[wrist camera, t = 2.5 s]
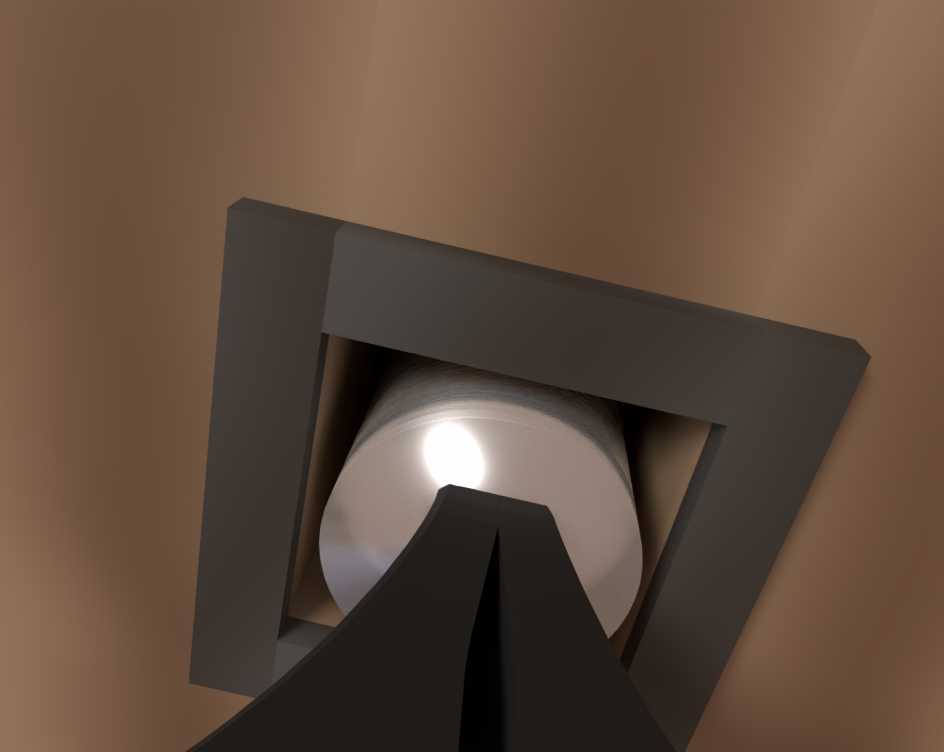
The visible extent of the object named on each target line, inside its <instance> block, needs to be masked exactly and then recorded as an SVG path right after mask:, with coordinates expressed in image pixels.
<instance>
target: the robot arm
mask: <svg viewBox="0 0 944 752" xmlns="http://www.w3.org/2000/svg"><path fill="white" fill-rule="evenodd" d="M185 752H677V751H676V750H675V749H674V747H673V746H672V744H671V743H670V741H669V740H668V738H667V737H666V735H665V734H664V732H663V731H662V729H661V728H660V726H659V725H658V723H657V721H656V720H655V718H654V717H653V715H652V713H651V712H650V710H649V709H648V707H647V705H646V704H645V702H644V701H643V699H642V697H641V695H640V694H639V692H638V690H637V689H636V687H635V685H634V683H633V682H632V680H631V678H630V677H629V675H628V673H627V671H626V670H625V668H624V666H623V665H622V663H621V661H620V659H619V657H618V655H617V654H616V652H615V650H614V648H613V646H612V644H611V643H610V641H609V639H608V637H607V635H606V633H605V631H604V629H603V627H602V625H601V623H600V621H599V619H598V617H597V615H596V613H595V611H594V609H593V607H592V605H591V603H590V601H589V599H588V597H587V595H586V593H585V591H584V588H583V586H582V584H581V582H580V580H579V577H578V575H577V573H576V571H575V568H574V566H573V564H572V562H571V559H570V557H569V555H568V552H567V550H566V547H565V545H564V542H563V540H562V537H561V535H560V532H559V530H558V527H557V524H556V522H555V519H554V516H553V514H552V513H551V511H550V510H549V508H548V506H546V505H541V504H537V503H532V502H528V501H524V500H519V499H515V498H511V497H506V496H502V495H497V494H493V493H489V492H484V491H480V490H476V489H471V488H467V487H463V486H458V485H454V484H448V485H446V486H444V487H442V488H440V489H438V492H437V495H436V498H435V500H434V502H433V504H432V506H431V508H430V510H429V512H428V514H427V515H426V517H425V519H424V520H423V522H422V524H421V525H420V527H419V528H418V529H417V531H416V532H415V534H414V535H413V537H412V538H411V540H410V541H409V543H408V544H407V545H406V546H405V548H404V549H403V550H402V552H401V553H400V554H399V555H398V557H397V558H396V559H395V560H394V562H393V563H392V564H391V566H390V567H389V568H388V569H387V571H386V572H385V573H384V575H383V576H382V577H381V578H380V579H379V581H378V582H377V583H376V584H375V585H374V586H373V587H372V588H371V590H370V591H369V592H368V593H367V594H366V595H365V596H364V597H363V598H362V599H361V600H360V601H359V603H358V604H357V605H356V606H355V607H354V608H353V609H352V610H351V611H350V612H349V613H348V614H347V615H346V617H345V618H344V619H343V620H342V621H341V622H340V623H339V624H338V625H337V626H336V627H335V628H334V629H333V630H332V631H331V632H330V633H329V634H328V635H327V636H326V637H325V638H324V639H323V640H322V641H321V642H320V643H319V644H318V645H317V646H316V647H315V648H313V649H312V650H311V651H310V652H309V653H308V654H307V655H306V656H305V657H304V658H303V659H301V660H300V661H299V662H298V663H297V664H296V665H295V666H294V667H292V668H291V669H290V670H289V671H288V672H287V673H286V674H285V675H283V676H282V677H281V678H280V679H279V680H278V681H276V682H275V683H274V684H273V685H272V686H270V687H269V688H268V689H267V690H265V691H264V692H263V693H262V694H260V695H259V696H258V697H257V698H255V699H254V700H253V701H252V702H251V703H249V704H248V705H247V706H246V707H244V708H243V709H242V710H241V711H239V712H238V713H237V714H236V715H234V716H233V717H232V718H231V719H229V720H228V721H227V722H225V723H224V724H223V725H221V726H220V727H219V728H217V729H216V730H215V731H213V732H212V733H211V734H209V735H208V736H207V737H205V738H204V739H202V740H201V741H200V742H198V743H197V744H196V745H194V746H193V747H191V748H190V749H188V750H187V751H185Z"/></svg>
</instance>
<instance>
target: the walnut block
mask: <svg viewBox="0 0 944 752" xmlns="http://www.w3.org/2000/svg"><path fill="white" fill-rule="evenodd" d="M377 345H379V346H383V347H388V348H392V349H396V350H401V351H405V352H409V353H414V354H418V355H422V356H427V357H431V358H435V359H440V360H444V361H448V362H453V363H457V364H461V365H466V366H470V367H474V368H479V369H483V370H487V371H492V372H496V373H500V374H505V375H509V376H513V377H518V378H522V379H526V380H531V381H535V382H539V383H544V384H548V385H552V386H557V387H561V388H565V389H570V390H574V391H578V392H583V393H587V394H591V395H595V396H600V397H604V398H608V399H613V400H617V401H621V402H624V405H623V408H622V411H621V414H620V417H621V423H622V429H623V435H624V441H625V447H626V453H627V459H628V465H629V471H630V477H631V483H632V489H633V495H634V501H635V507H636V514H637V520H638V526H639V532H640V538H641V544H642V560H643V566H642V574H641V581H640V585H639V588H638V592H637V595H636V598H635V600H634V602H633V605H632V607H631V609H630V611H629V613H628V615H627V616H626V617H625V619H624V620H623V622H622V623H621V625H620V626H619V628H618V629H617V630H616V631H615V632H614V633H613V634H612V635H611V637H610V638H609V641H610V643H611V644H612V646H613V648H614V650H615V652H616V654H617V655H618V657H619V659H620V661H621V663H622V665H623V666H624V668H625V670H626V671H627V673H628V675H629V677H630V678H631V680H632V682H633V683H634V685H635V687H636V689H637V690H638V692H639V694H640V695H641V697H642V699H643V701H644V702H645V704H646V705H647V707H648V709H649V710H650V712H651V713H652V715H653V717H654V718H655V720H656V721H657V723H658V725H659V726H660V728H661V729H662V731H663V732H664V734H665V735H666V737H667V738H668V740H669V741H670V743H671V744H672V746H673V747H674V749H675V750H676V751H677V752H944V0H0V752H185V751H187V750H188V749H190V748H191V747H193V746H194V745H196V744H197V743H198V742H200V741H201V740H202V739H204V738H205V737H207V736H208V735H209V734H211V733H212V732H213V731H215V730H216V729H217V728H219V727H220V726H221V725H223V724H224V723H225V722H227V721H228V720H229V719H231V718H232V717H233V716H234V715H236V714H237V713H238V712H239V711H241V710H242V709H243V708H244V707H246V706H247V705H248V704H249V703H251V702H252V701H253V700H254V699H255V698H257V697H258V696H259V695H260V694H262V693H263V692H264V691H265V690H267V689H268V688H269V687H270V686H272V685H273V684H274V683H275V682H276V681H278V680H279V679H280V678H281V677H282V676H283V675H285V674H286V673H287V672H288V671H289V670H290V669H291V668H292V667H294V666H295V665H296V664H297V663H298V662H299V661H300V660H301V659H303V658H304V657H305V656H306V655H307V654H308V653H309V652H310V651H311V650H312V649H313V648H315V647H316V646H317V645H318V644H319V643H320V642H321V641H322V640H323V639H324V638H325V637H326V636H327V635H328V634H329V633H330V632H331V631H332V630H333V629H334V628H335V627H336V626H337V625H338V624H339V623H340V622H341V621H342V620H343V619H344V618H345V617H346V616H345V615H344V614H343V612H342V611H341V610H340V608H339V607H338V605H337V603H336V601H335V600H334V598H333V596H332V594H331V592H330V590H329V587H328V585H327V582H326V580H325V577H324V573H323V569H322V565H321V561H320V549H319V538H320V526H321V522H322V518H323V514H324V510H325V507H326V505H327V503H328V500H329V498H330V495H331V493H332V491H333V489H334V486H335V484H336V482H337V479H338V477H339V475H340V473H341V470H342V468H343V466H344V463H345V461H346V459H347V456H348V454H349V452H350V450H351V447H352V445H353V443H354V440H355V438H356V436H357V434H358V431H359V429H360V427H361V424H362V422H363V420H364V418H365V412H366V407H367V401H368V396H369V390H370V384H371V379H372V373H373V367H374V362H375V356H376V350H377Z"/></svg>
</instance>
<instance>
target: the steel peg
mask: <svg viewBox="0 0 944 752" xmlns="http://www.w3.org/2000/svg"><path fill="white" fill-rule="evenodd" d="M448 484H454V485H458V486H463V487H467V488H471V489H476V490H480V491H484V492H489V493H493V494H497V495H502V496H506V497H511V498H515V499H519V500H524V501H528V502H532V503H537V504H541V505H546V506H548V508H549V510H550V511H551V513H552V514H553V516H554V519H555V522H556V524H557V527H558V530H559V532H560V535H561V537H562V540H563V542H564V545H565V547H566V550H567V552H568V555H569V557H570V559H571V562H572V564H573V566H574V568H575V571H576V573H577V575H578V577H579V580H580V582H581V584H582V586H583V588H584V591H585V593H586V595H587V597H588V599H589V601H590V603H591V605H592V607H593V609H594V611H595V613H596V615H597V617H598V619H599V621H600V623H601V625H602V627H603V629H604V631H605V633H606V635H607V637H608V639H609V638H610V637H611V635H612V634H613V633H614V632H615V631H616V630H617V629H618V628H619V626H620V625H621V623H622V622H623V620H624V619H625V617H626V616H627V615H628V613H629V611H630V609H631V607H632V605H633V602H634V600H635V598H636V595H637V592H638V588H639V585H640V581H641V574H642V566H643V560H642V544H641V538H640V532H639V526H638V520H637V514H636V507H635V501H634V495H633V489H632V483H631V477H630V471H629V465H628V459H627V453H626V447H625V441H624V435H623V429H622V423H621V417H620V411H619V405H618V401H617V400H613V399H608V398H604V397H600V396H595V395H591V394H587V393H583V392H578V391H574V390H570V389H565V388H561V387H557V386H552V385H548V384H544V383H539V382H535V381H531V380H526V379H522V378H518V377H513V376H509V375H505V374H500V373H496V372H492V371H487V370H483V369H479V368H474V367H470V366H466V365H461V364H457V363H453V362H448V361H444V360H440V359H435V358H431V357H427V356H422V355H418V354H414V353H409V352H405V351H401V350H396V349H394V351H393V353H392V356H391V358H390V360H389V362H388V365H387V367H386V369H385V372H384V374H383V376H382V379H381V381H380V383H379V385H378V388H377V390H376V392H375V395H374V397H373V399H372V401H371V404H370V406H369V408H368V411H367V413H366V415H365V418H364V420H363V422H362V424H361V427H360V429H359V431H358V434H357V436H356V438H355V440H354V443H353V445H352V447H351V450H350V452H349V454H348V456H347V459H346V461H345V463H344V466H343V468H342V470H341V473H340V475H339V477H338V479H337V482H336V484H335V486H334V489H333V491H332V493H331V495H330V498H329V500H328V503H327V505H326V507H325V510H324V514H323V518H322V522H321V526H320V538H319V549H320V561H321V565H322V569H323V573H324V577H325V580H326V582H327V585H328V587H329V590H330V592H331V594H332V596H333V598H334V600H335V601H336V603H337V605H338V607H339V608H340V610H341V611H342V612H343V614H344V615H345V616H346V615H347V614H348V613H349V612H350V611H351V610H352V609H353V608H354V607H355V606H356V605H357V604H358V603H359V601H360V600H361V599H362V598H363V597H364V596H365V595H366V594H367V593H368V592H369V591H370V590H371V588H372V587H373V586H374V585H375V584H376V583H377V582H378V581H379V579H380V578H381V577H382V576H383V575H384V573H385V572H386V571H387V569H388V568H389V567H390V566H391V564H392V563H393V562H394V560H395V559H396V558H397V557H398V555H399V554H400V553H401V552H402V550H403V549H404V548H405V546H406V545H407V544H408V543H409V541H410V540H411V538H412V537H413V535H414V534H415V532H416V531H417V529H418V528H419V527H420V525H421V524H422V522H423V520H424V519H425V517H426V515H427V514H428V512H429V510H430V508H431V506H432V504H433V502H434V500H435V498H436V495H437V492H438V489H440V488H442V487H444V486H446V485H448Z"/></svg>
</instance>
